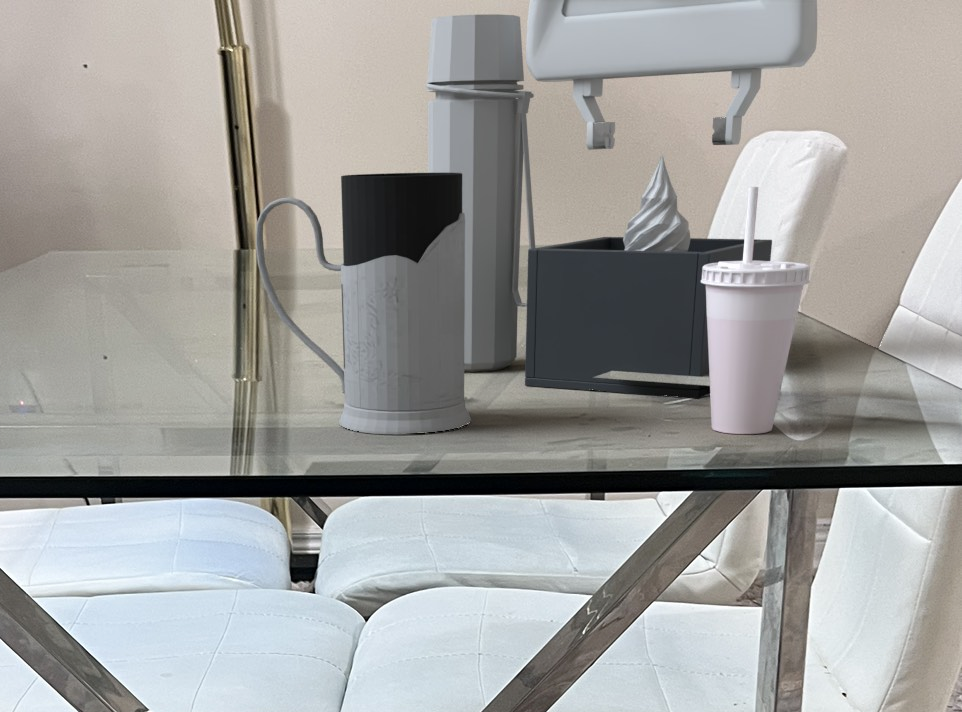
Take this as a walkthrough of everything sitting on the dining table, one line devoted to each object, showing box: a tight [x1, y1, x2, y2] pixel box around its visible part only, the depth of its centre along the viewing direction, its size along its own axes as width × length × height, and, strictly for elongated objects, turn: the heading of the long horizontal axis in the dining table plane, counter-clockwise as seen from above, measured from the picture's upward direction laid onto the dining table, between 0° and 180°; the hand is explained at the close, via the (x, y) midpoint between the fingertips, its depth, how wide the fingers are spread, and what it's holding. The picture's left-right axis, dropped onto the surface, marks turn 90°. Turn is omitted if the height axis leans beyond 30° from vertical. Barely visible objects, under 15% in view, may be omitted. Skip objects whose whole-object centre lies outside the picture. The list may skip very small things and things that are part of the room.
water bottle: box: [425, 13, 536, 373], centre depth 108 cm, size 9×8×25 cm
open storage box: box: [524, 236, 773, 400], centre depth 105 cm, size 14×14×10 cm
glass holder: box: [254, 172, 472, 435], centre depth 90 cm, size 9×14×15 cm, turn 73°
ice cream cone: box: [622, 154, 691, 252], centre depth 103 cm, size 5×5×15 cm
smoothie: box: [701, 186, 811, 435], centre depth 85 cm, size 6×6×14 cm
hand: (661, 147), depth 100 cm, fingers open, 8 cm apart
